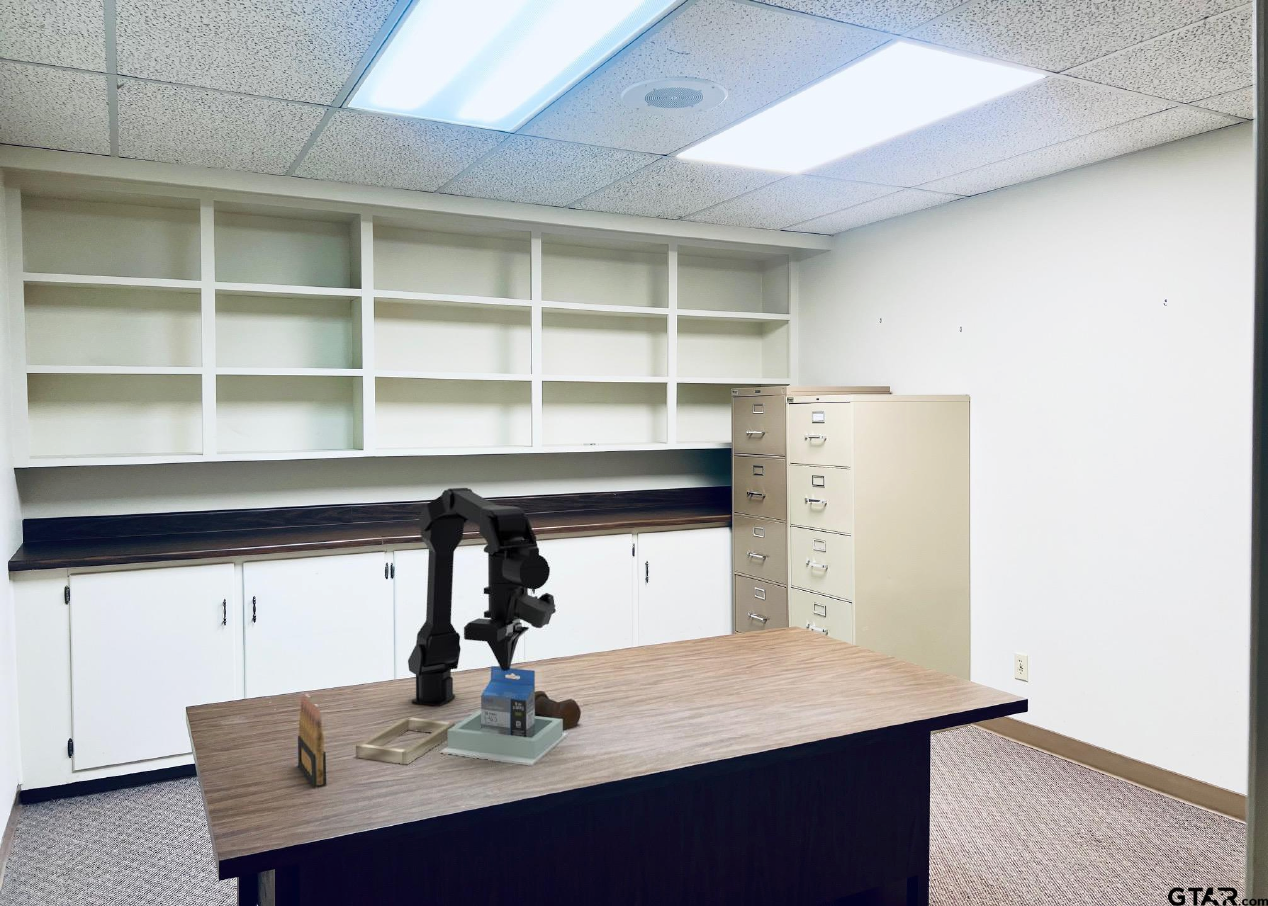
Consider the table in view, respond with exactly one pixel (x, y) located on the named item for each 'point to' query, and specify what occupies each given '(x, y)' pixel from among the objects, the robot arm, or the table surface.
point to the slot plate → (504, 741)
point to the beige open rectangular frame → (374, 744)
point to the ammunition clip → (311, 743)
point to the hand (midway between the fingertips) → (505, 670)
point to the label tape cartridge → (509, 703)
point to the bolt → (557, 709)
